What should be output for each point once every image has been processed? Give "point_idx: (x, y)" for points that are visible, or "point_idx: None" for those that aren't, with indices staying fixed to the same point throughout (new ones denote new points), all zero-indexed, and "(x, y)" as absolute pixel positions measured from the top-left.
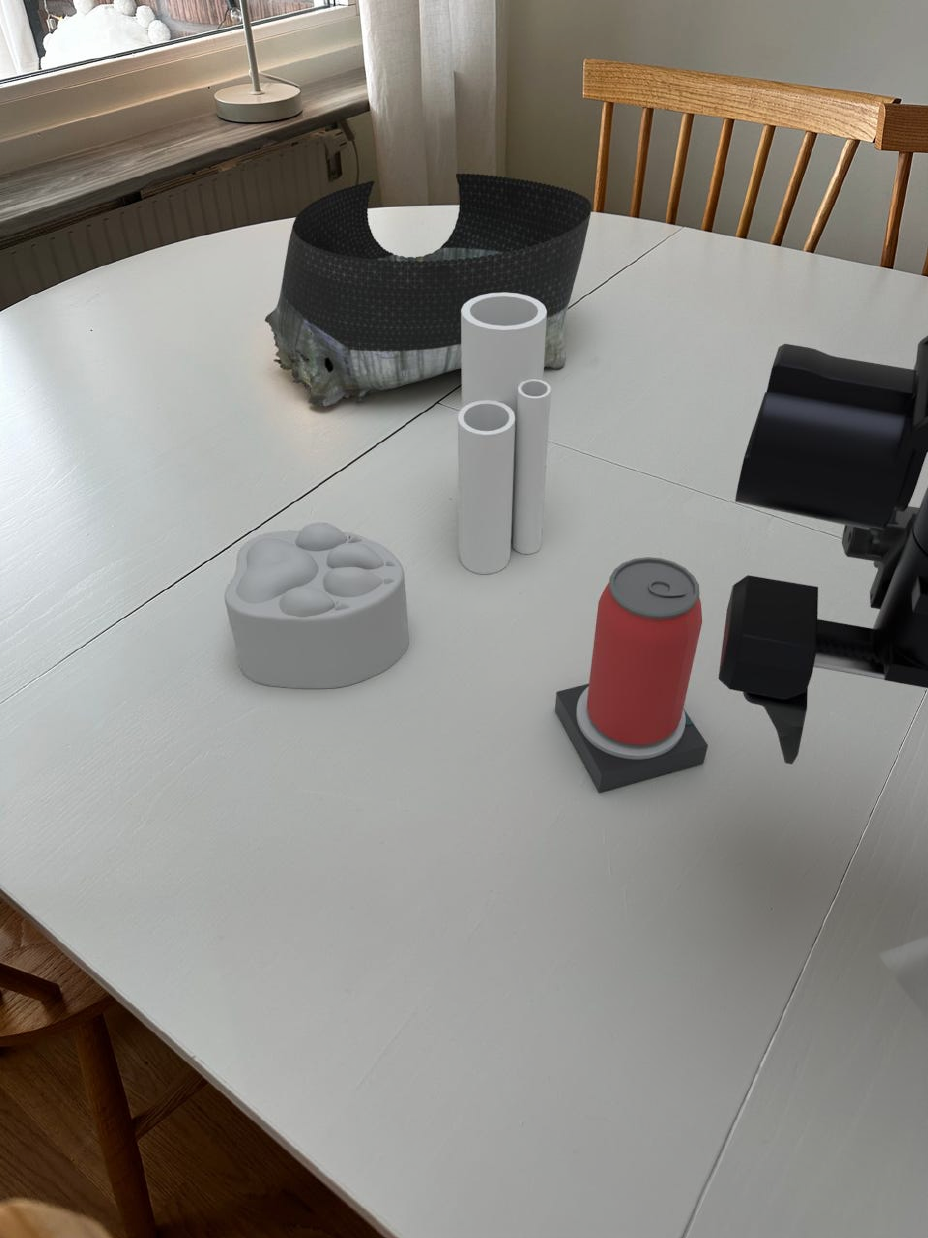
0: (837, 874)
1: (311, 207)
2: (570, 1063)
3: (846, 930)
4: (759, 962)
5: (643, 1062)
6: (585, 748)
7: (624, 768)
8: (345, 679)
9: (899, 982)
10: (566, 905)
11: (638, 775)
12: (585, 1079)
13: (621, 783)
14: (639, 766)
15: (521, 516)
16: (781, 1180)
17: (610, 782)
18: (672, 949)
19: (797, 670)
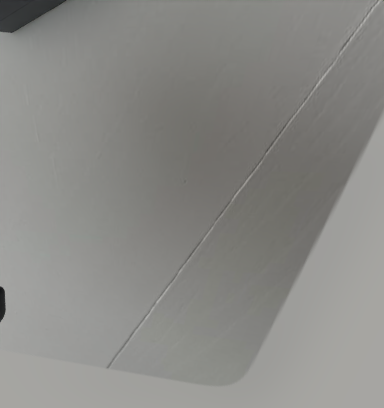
0: (265, 142)
1: None
2: (35, 286)
3: (254, 206)
4: (166, 231)
5: (79, 291)
6: None
7: (7, 16)
8: None
9: (288, 257)
10: (9, 173)
11: (40, 8)
12: (45, 296)
13: (28, 19)
14: (26, 6)
15: None
16: (161, 359)
17: (10, 25)
18: (95, 216)
19: None
